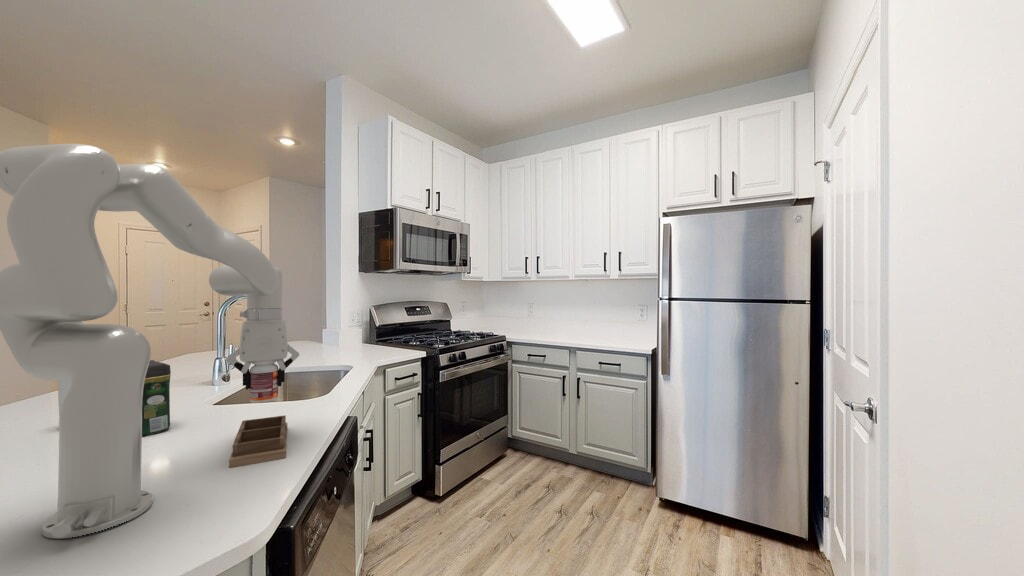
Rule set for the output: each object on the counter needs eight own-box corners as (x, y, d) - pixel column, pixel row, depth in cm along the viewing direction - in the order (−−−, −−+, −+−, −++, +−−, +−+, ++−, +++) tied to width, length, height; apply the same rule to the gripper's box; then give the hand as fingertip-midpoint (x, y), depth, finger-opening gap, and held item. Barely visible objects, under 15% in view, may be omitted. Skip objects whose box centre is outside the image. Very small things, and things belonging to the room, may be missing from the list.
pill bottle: (278, 401, 98) (279, 356, 99) (249, 405, 95) (249, 358, 95) (277, 395, 104) (278, 352, 104) (249, 399, 100) (250, 354, 100)
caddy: (285, 458, 88) (285, 440, 88) (228, 467, 83) (229, 448, 83) (287, 427, 107) (287, 413, 107) (241, 434, 102) (241, 418, 102)
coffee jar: (121, 432, 103) (122, 361, 103) (160, 423, 110) (161, 357, 110) (134, 439, 98) (136, 365, 98) (174, 430, 105) (175, 360, 105)
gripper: (220, 317, 92) (219, 394, 92) (303, 315, 100) (303, 386, 100) (225, 315, 99) (224, 387, 98) (303, 313, 107) (302, 380, 107)
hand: (264, 386), depth 99 cm, fingers closed on pill bottle, 6 cm apart
